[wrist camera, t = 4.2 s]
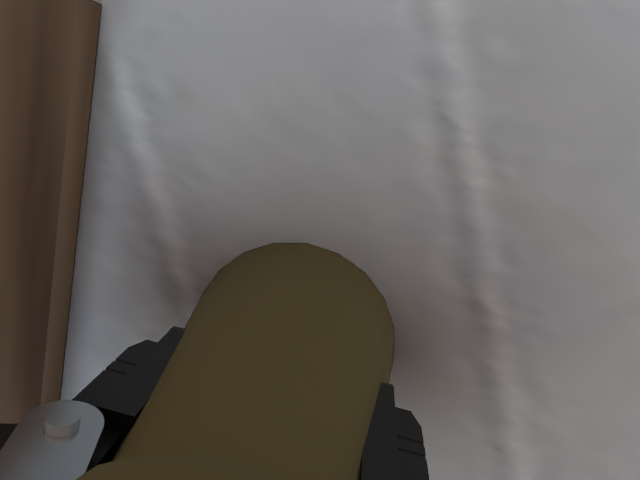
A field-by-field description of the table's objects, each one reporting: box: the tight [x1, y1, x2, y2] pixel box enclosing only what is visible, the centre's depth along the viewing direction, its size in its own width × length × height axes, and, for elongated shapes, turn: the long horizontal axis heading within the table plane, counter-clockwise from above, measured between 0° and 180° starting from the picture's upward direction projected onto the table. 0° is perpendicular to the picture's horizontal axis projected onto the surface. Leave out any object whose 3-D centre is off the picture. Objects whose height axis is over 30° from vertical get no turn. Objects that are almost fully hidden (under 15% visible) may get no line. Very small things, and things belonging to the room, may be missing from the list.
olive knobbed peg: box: [76, 243, 394, 480], centre depth 9 cm, size 6×6×11 cm
